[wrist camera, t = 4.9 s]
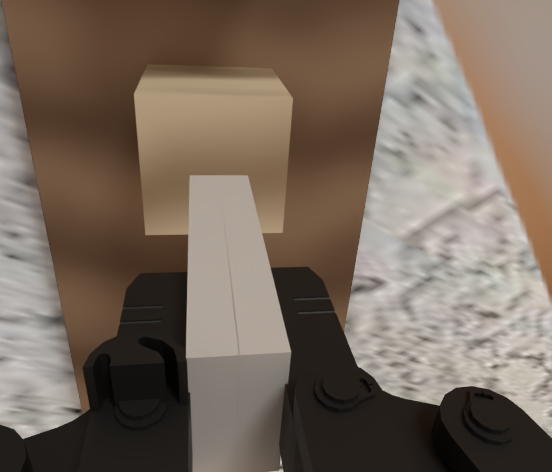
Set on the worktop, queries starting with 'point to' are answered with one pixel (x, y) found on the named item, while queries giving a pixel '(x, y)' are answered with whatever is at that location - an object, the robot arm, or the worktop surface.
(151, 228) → the plain beech block
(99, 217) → the walnut board
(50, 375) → the worktop surface
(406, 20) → the worktop surface
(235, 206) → the robot arm
